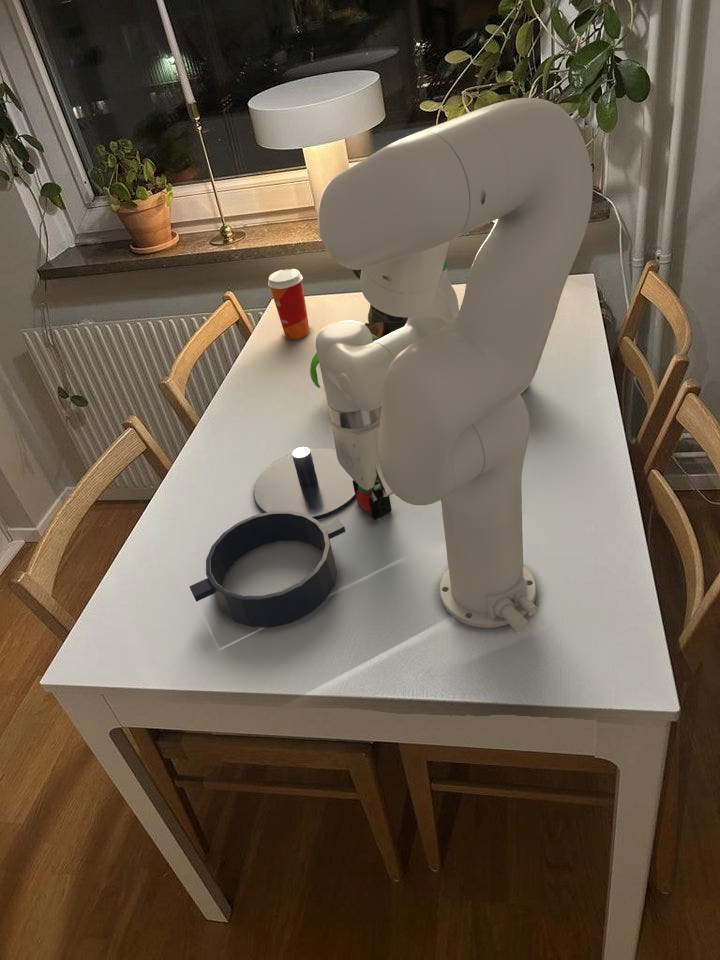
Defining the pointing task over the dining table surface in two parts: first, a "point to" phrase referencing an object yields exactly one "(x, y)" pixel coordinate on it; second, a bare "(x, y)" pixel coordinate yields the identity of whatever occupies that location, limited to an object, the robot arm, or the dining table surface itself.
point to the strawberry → (365, 497)
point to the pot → (279, 604)
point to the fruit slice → (376, 329)
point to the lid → (305, 484)
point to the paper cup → (290, 302)
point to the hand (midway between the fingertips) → (373, 505)
